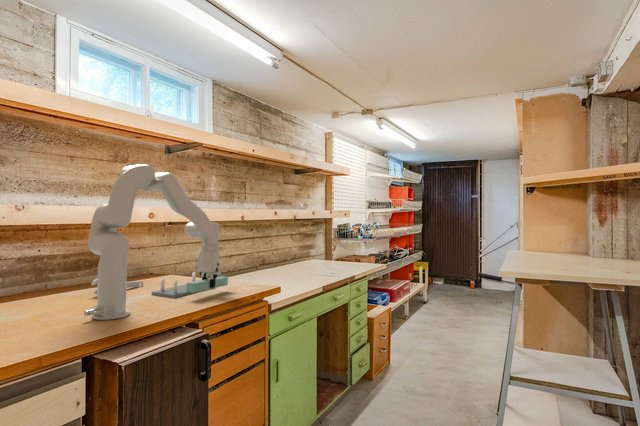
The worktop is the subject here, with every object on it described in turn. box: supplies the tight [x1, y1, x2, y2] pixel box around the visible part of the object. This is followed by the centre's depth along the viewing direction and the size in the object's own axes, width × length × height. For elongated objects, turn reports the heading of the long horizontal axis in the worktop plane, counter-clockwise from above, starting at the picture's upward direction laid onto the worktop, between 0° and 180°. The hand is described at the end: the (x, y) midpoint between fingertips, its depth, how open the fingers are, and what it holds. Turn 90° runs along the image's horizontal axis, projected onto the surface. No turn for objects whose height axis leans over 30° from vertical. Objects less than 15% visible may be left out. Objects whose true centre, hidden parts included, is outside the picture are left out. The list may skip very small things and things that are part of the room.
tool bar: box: [186, 275, 229, 294], centre depth 177 cm, size 24×4×4 cm, turn 156°
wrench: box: [90, 277, 144, 295], centre depth 182 cm, size 8×2×30 cm
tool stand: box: [151, 271, 209, 299], centre depth 186 cm, size 28×14×8 cm, turn 156°
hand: (208, 286), depth 177 cm, fingers closed on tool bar, 4 cm apart
